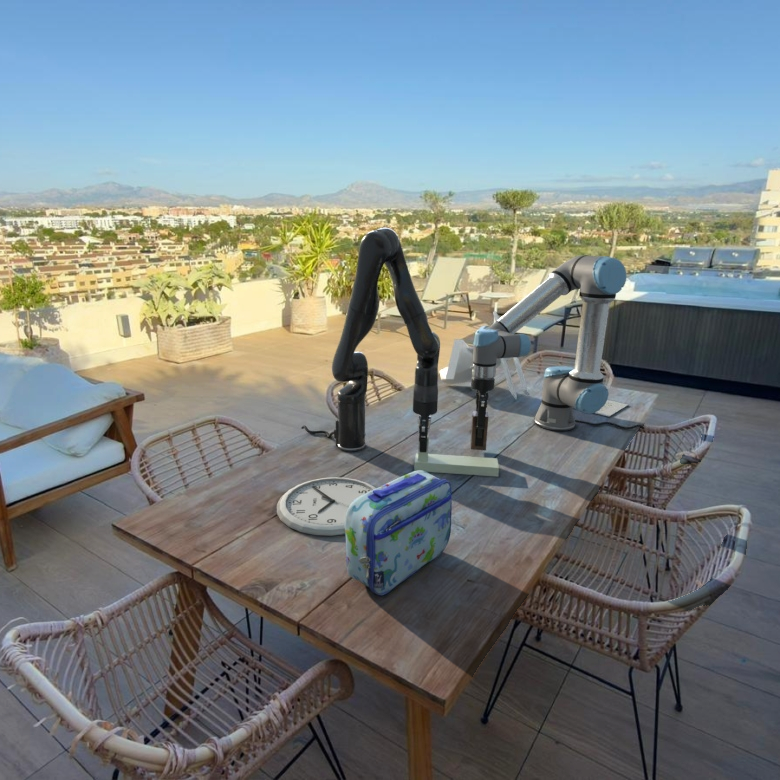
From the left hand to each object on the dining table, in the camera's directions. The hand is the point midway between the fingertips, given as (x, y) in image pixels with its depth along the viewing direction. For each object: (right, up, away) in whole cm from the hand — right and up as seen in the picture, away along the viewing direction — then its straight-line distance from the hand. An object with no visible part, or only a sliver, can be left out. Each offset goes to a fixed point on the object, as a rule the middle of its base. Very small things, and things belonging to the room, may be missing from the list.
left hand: (423, 448), depth 165 cm
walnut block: (+20, -1, +14) cm, 24 cm away
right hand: (+20, +1, +13) cm, 24 cm away
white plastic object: (+31, +17, +78) cm, 86 cm away
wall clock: (-26, -13, -22) cm, 37 cm away
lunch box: (-8, -21, -48) cm, 53 cm away
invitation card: (+81, +11, +61) cm, 102 cm away
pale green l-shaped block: (+10, -6, +1) cm, 12 cm away
